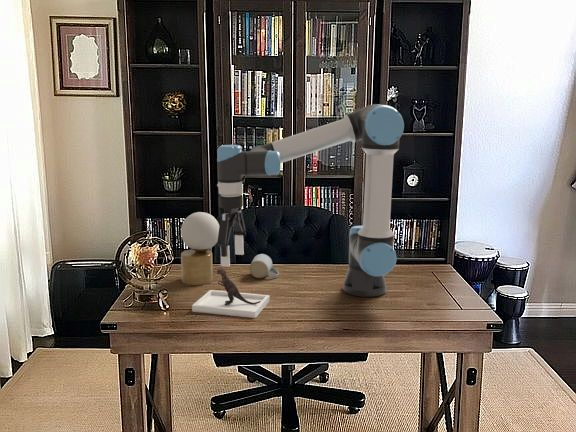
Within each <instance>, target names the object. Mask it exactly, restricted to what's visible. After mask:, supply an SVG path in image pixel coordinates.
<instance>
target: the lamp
mask: <svg viewBox="0 0 576 432" xmlns="http://www.w3.org/2000/svg"><path fill="white" fill-rule="evenodd" d="M219 226H220V223H219V221H218V220H217V219H216V218H215V216H213V215H212V214H210V213H208V212H202V211H197V212H193V213H191V214H190V215H188V216H187V217H186V218H185V219H184V220H183V222H182V224H181V227H180V237H181V239H182V241H183V243H184V245H186V246H187V247H188V248H189V249H187V250H184V251H182V252H181V253H180V263H181V265H180V268H181V269H180V271H181V282H182V283H183V284H185V285H187V286H203V285H208V284H210V283H212V282H213V275H214V273H213V270H214V269H213V252H212V251H211V249H212V248H213V247H214V246H215V245H217V241H218V233H219Z"/></svg>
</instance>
